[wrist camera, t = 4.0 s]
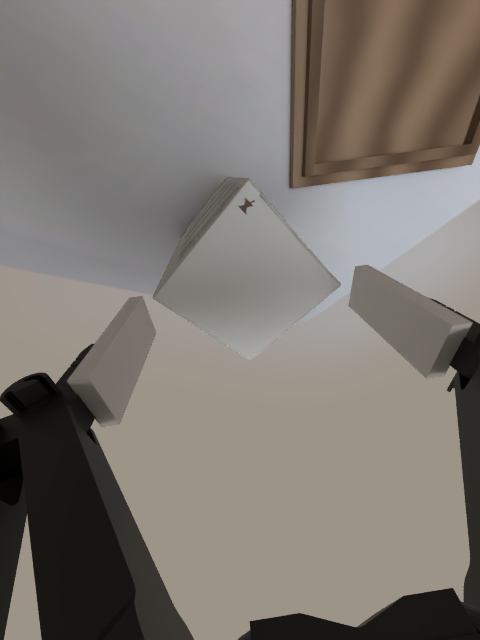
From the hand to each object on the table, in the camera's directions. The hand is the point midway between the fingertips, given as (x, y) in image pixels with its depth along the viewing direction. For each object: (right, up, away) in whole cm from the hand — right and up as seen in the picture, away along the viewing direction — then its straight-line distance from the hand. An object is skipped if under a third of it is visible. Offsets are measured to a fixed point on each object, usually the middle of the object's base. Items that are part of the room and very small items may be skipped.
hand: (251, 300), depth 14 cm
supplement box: (-2, +10, +15) cm, 18 cm away
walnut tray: (+14, +25, +7) cm, 29 cm away
